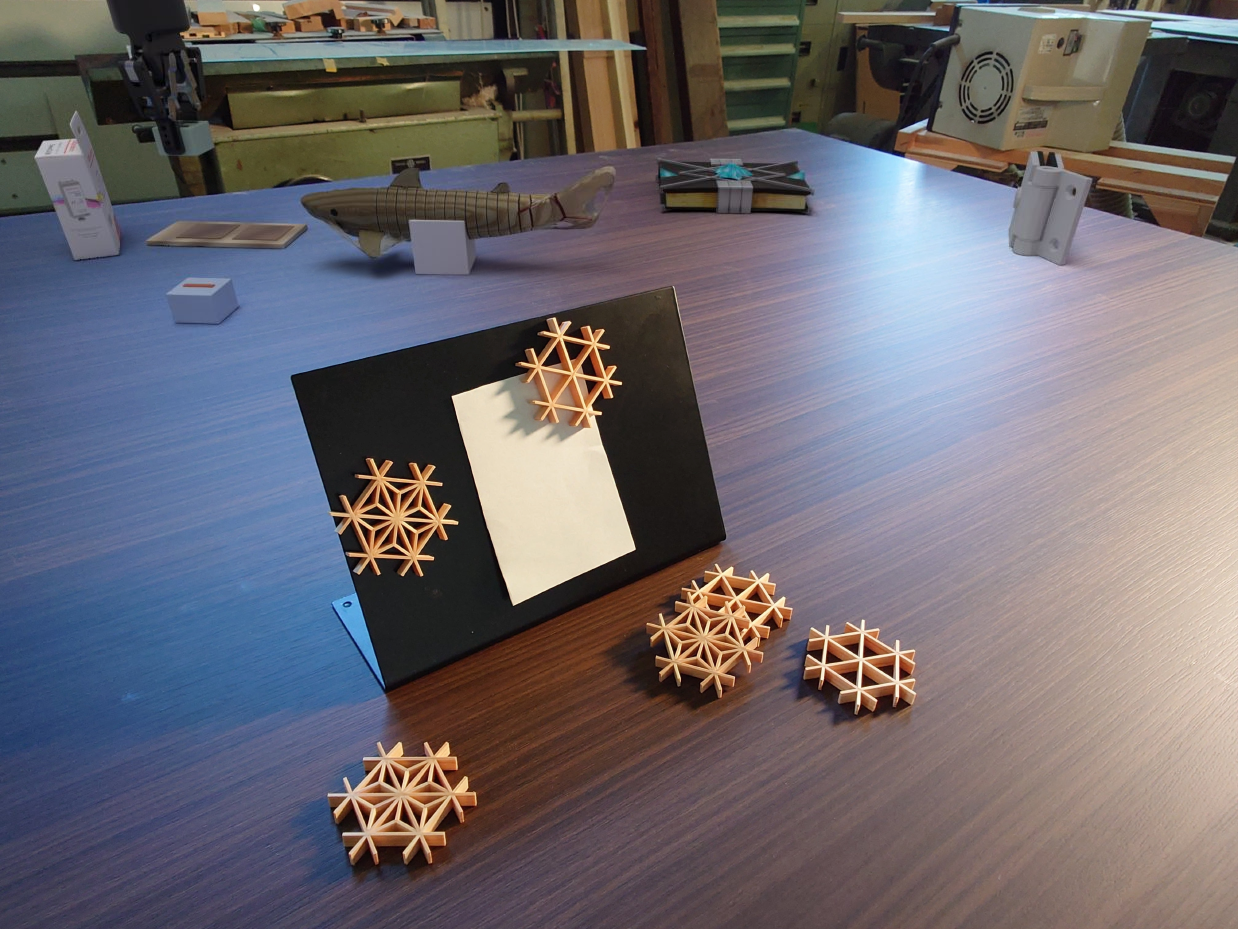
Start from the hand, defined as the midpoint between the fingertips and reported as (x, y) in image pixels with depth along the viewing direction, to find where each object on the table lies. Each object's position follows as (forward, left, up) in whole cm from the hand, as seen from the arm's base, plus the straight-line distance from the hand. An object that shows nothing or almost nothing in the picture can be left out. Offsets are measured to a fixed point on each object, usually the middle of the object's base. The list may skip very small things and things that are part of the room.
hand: (186, 148), depth 96 cm
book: (+67, +23, -11) cm, 72 cm away
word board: (+2, 0, -11) cm, 11 cm away
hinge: (+104, +4, -11) cm, 105 cm away
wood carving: (+34, -8, -11) cm, 36 cm away
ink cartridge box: (-11, -5, -11) cm, 16 cm away
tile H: (0, 0, 0) cm, 0 cm away
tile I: (+11, -24, -11) cm, 28 cm away
